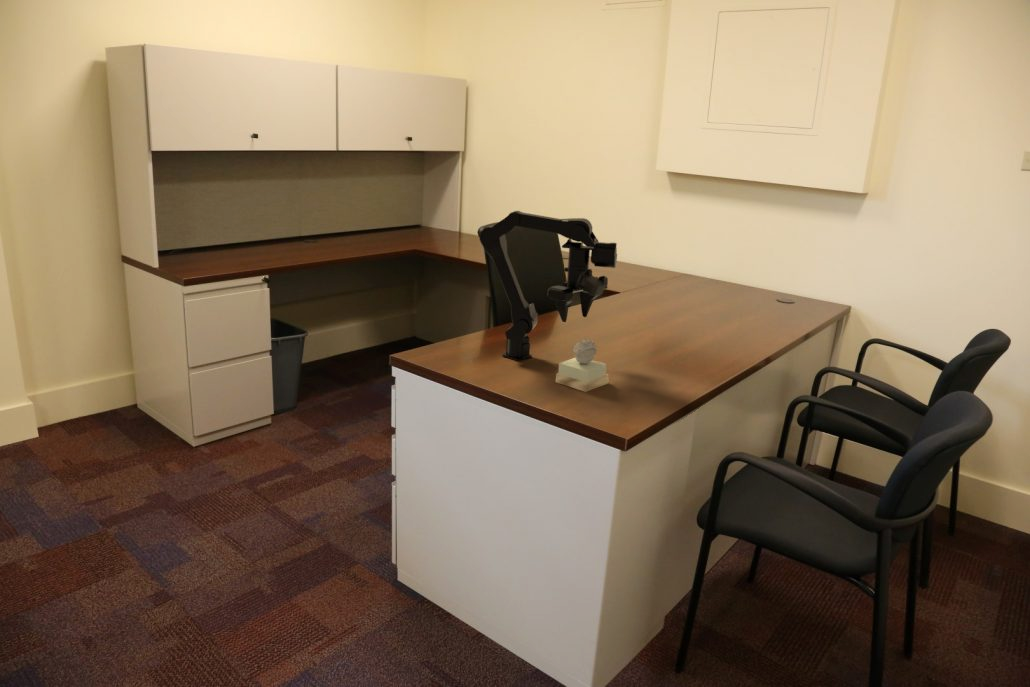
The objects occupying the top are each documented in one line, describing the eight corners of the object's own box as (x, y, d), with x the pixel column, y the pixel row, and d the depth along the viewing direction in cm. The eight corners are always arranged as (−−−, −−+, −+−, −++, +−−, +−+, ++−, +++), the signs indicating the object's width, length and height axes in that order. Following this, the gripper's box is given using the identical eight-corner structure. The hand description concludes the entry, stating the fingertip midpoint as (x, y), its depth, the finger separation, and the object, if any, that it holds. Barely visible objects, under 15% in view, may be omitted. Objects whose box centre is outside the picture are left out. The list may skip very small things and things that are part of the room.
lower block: (555, 384, 191) (556, 373, 191) (578, 376, 199) (578, 365, 198) (585, 394, 185) (586, 383, 184) (608, 385, 192) (608, 374, 191)
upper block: (558, 374, 190) (559, 363, 189) (577, 366, 197) (578, 356, 196) (586, 382, 185) (587, 371, 184) (605, 374, 192) (606, 363, 191)
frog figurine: (579, 368, 186) (581, 343, 184) (567, 360, 192) (569, 335, 190) (600, 367, 188) (602, 341, 186) (588, 358, 194) (590, 334, 192)
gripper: (580, 273, 188) (576, 330, 192) (621, 266, 201) (617, 320, 205) (547, 266, 195) (544, 322, 199) (590, 260, 208) (586, 312, 212)
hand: (574, 319), depth 204 cm, fingers open, 9 cm apart
